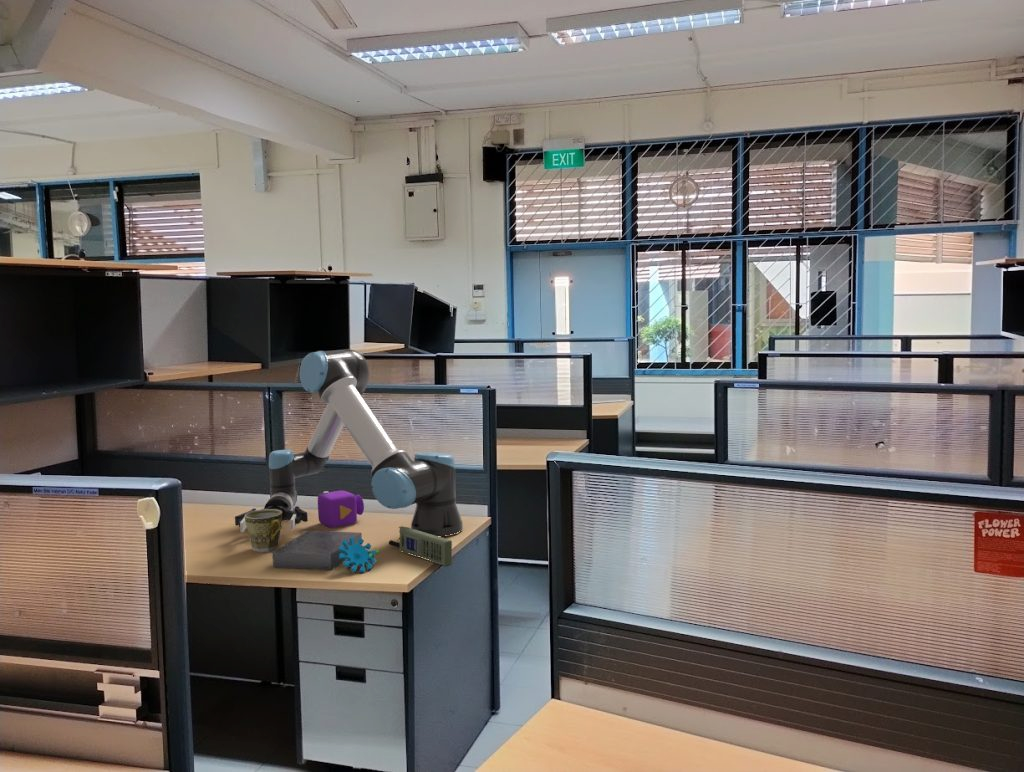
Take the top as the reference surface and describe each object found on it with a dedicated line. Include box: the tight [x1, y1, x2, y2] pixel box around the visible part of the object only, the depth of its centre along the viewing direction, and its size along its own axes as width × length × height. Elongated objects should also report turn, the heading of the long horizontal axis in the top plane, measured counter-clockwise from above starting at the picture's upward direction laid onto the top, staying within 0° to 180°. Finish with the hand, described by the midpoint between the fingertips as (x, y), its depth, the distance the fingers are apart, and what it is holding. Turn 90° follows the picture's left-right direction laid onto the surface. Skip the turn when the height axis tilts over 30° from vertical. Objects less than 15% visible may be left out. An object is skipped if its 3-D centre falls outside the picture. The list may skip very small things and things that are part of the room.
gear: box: [338, 537, 379, 573], centre depth 204 cm, size 11×6×10 cm
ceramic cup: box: [245, 508, 283, 553], centre depth 220 cm, size 13×10×10 cm
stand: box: [271, 530, 363, 571], centre depth 213 cm, size 16×20×4 cm
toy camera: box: [317, 490, 365, 529], centre depth 247 cm, size 11×14×10 cm
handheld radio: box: [388, 525, 453, 568], centre depth 212 cm, size 7×3×25 cm
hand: (266, 526), depth 223 cm, fingers open, 13 cm apart
